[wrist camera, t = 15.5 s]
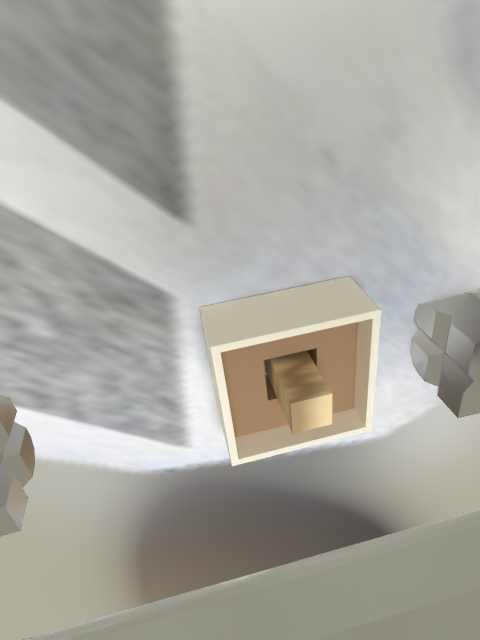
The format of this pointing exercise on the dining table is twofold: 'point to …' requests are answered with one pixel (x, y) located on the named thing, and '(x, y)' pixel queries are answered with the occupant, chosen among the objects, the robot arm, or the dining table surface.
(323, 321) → the bore box
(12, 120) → the dining table surface
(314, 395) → the peg
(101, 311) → the dining table surface
